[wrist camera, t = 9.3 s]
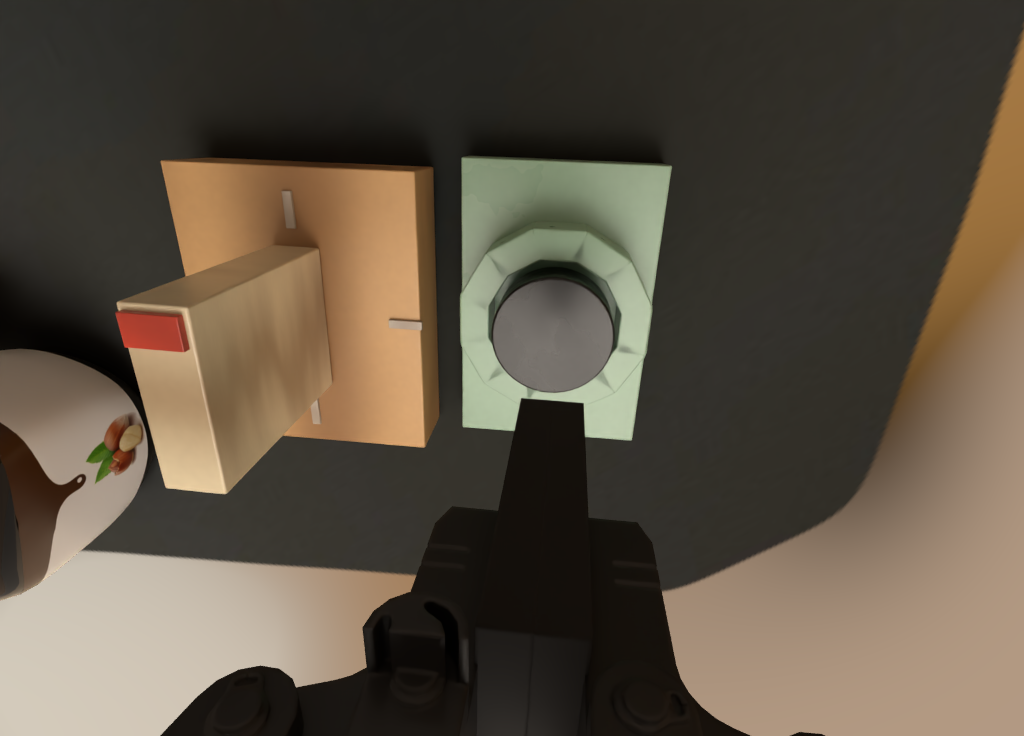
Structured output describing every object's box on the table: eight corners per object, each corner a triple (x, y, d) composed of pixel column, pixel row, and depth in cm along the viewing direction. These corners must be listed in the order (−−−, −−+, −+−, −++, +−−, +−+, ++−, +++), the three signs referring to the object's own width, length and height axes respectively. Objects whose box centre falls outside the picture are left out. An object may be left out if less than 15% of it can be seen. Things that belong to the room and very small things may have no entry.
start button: (498, 262, 20) (492, 273, 19) (618, 269, 20) (622, 280, 19) (495, 371, 22) (489, 389, 21) (605, 379, 22) (608, 398, 20)
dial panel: (251, 401, 28) (214, 432, 25) (205, 157, 23) (153, 160, 20) (441, 416, 27) (426, 450, 24) (435, 166, 22) (415, 171, 19)
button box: (468, 155, 22) (451, 158, 19) (664, 163, 21) (681, 168, 18) (468, 410, 27) (455, 447, 24) (628, 422, 26) (636, 462, 23)
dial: (333, 383, 23) (221, 500, 16) (289, 380, 24) (159, 493, 16) (319, 247, 21) (180, 310, 14) (271, 244, 21) (107, 304, 14)
